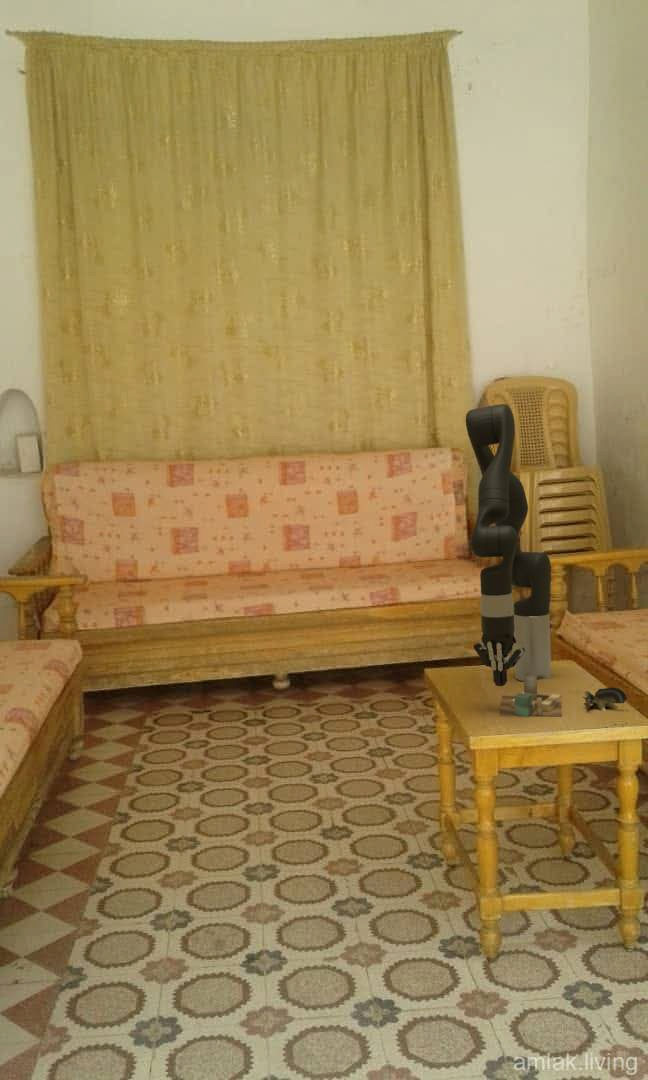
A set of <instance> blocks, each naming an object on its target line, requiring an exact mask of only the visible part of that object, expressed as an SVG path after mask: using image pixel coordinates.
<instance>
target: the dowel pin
mask: <svg viewBox="0 0 648 1080" xmlns="http://www.w3.org/2000/svg"><path fill="white" fill-rule="evenodd" d="M537 716H542V698H537Z"/></svg>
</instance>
